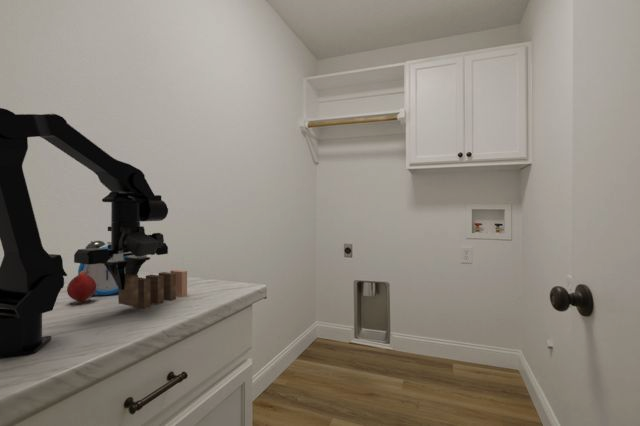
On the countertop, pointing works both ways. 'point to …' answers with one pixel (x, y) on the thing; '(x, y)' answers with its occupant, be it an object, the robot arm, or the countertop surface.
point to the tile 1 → (129, 291)
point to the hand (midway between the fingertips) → (125, 288)
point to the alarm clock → (100, 273)
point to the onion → (81, 287)
